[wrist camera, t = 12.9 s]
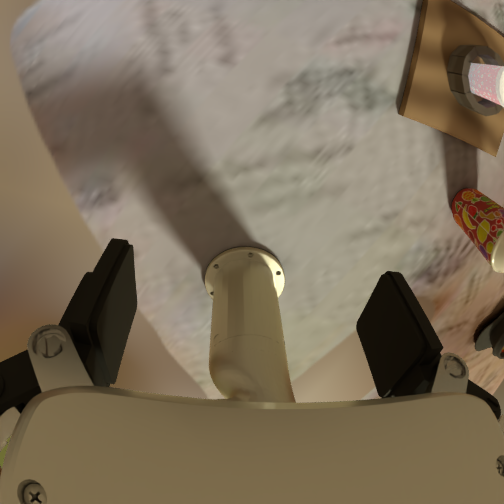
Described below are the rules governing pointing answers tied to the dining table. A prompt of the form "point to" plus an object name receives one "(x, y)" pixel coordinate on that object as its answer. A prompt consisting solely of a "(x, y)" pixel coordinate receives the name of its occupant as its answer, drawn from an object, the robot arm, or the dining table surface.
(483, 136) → the socket board
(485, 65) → the beverage cup
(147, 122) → the dining table surface
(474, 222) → the smoothie
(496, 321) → the casserole
